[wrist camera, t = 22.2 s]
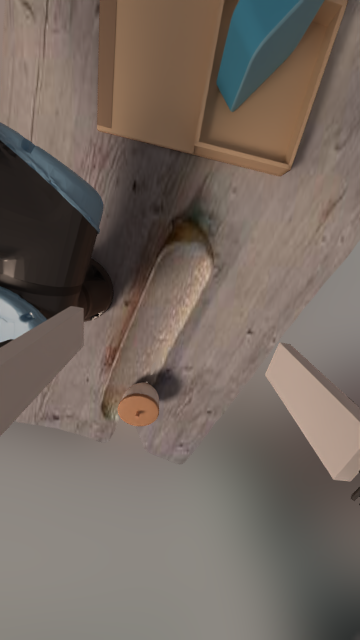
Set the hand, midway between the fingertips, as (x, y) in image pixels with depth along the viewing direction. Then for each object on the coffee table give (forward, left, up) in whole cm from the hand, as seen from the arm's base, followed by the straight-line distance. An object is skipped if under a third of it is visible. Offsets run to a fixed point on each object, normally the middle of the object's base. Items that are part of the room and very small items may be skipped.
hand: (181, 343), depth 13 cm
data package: (+5, +33, -32) cm, 47 cm away
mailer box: (-2, +31, -33) cm, 45 cm away
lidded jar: (-4, -36, -33) cm, 49 cm away
